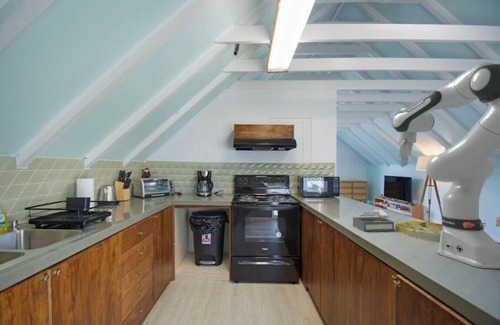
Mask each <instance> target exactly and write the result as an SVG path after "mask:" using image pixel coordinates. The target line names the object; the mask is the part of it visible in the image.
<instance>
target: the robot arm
mask: <svg viewBox="0 0 500 325" xmlns="http://www.w3.org/2000/svg"><path fill="white" fill-rule="evenodd" d="M477 99H478V101H479V102H481V103H482V104H486V103H487V104H488V108H487V109H486V111H485V113H484V114H483V115H482V116H481V117H480V118H479V119H478V120H477V121H476V123H475V124H474V125H473V126H472V127H471V128H470V130H469V131H468V132H467V133H466V134H465V135H464V136H463V137H462V138H461V139H460V140H458V141H457V142H456V143H455V144H453V145H452V146H451V147H449V148H448V149H446V150H444V151H443V152H442V153H439V154H436V155H435V156H433V157H431V158H429V159H428V161H427V162H426V166H425V170H426V174H427V175H428V177H429V178H430V179H432V180H433V181H438V182H443V183H451V186H450V188H449V189H448V191H447V192H445V193H444V195H443V196H442V216H441V224H442V225H443V229H442V231H441V235H440V242H439V247H438V249H437V251H436V253H437V254H438V255H441V256H443V257H446V258H449V259H452V260H455V261H458V262H460V263H464V264H467V265H469V266H472V267H475V268H483V269H500V244H499V243H498V242H497V241H496V240H495V239H494V238H493V237H491V235H490V234H489V233H487V232H486V231H485V227H487V222H482V220H481V219H480V199H481V198H480V197H481V193H482V190H483V187H484V185H485V183H486V181H487V180H488V179H489V178H491V176H492V175H493V174H494V171H495V165H494V162H493V161H492V159H490V158H492V157H494V156H495V155H497V154H499V153H500V64H499V63H494V62H490V61H481V62H479V63H477V64H476V65H474V66H472V67H469V69H467V70H465V71H464V72H462V73H461V74H460V75H458V76H457V77H456V78H455V79H453V80H452V81H450V82H449V83H447V84H446V85H444V86H442V87H440V88H439V89H436V90H435V91H433V92H431V93H429V94H427V95H425V96H424V97H422V98H421V99H418V101H416V102H415V103H413V104H411V105H410V106H407V107H403V108H401V109H400V110H399V111H397V112H396V113H395V114H394V115H393V117H392V119H391V120H392V121H391V124H392V128H393V129H394V130H395V131H396V138H395V139H396V143H398V146H399V150H398V157H399V158H400V163H401V164H400V165H401V167H406V166H408V161H409V158H411V154H412V150H413V145H414V144H416V143H417V134H418V133H426V132H430V131H431V130H432V129H433V127H434V125H435V117H434V115H433V114H432V113H431V111H436V110H441V109H443V110H444V109H455V108H461V107H464V106H467V105H469V104H472V103H473V102H474V101H476V100H477Z"/></svg>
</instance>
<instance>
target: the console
mask: <svg viewBox="0 0 500 325" xmlns="http://www.w3.org/2000/svg"><path fill="white" fill-rule="evenodd" d="M352 227H355V228H356V229H358V230H360V231H362V232H364V233H367V232H369V233H370V232H373V233H375V232H395V222H394V221H393V220H390V219H389V218H380V217H379V216H378V215H374V216H353V217H352Z"/></svg>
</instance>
